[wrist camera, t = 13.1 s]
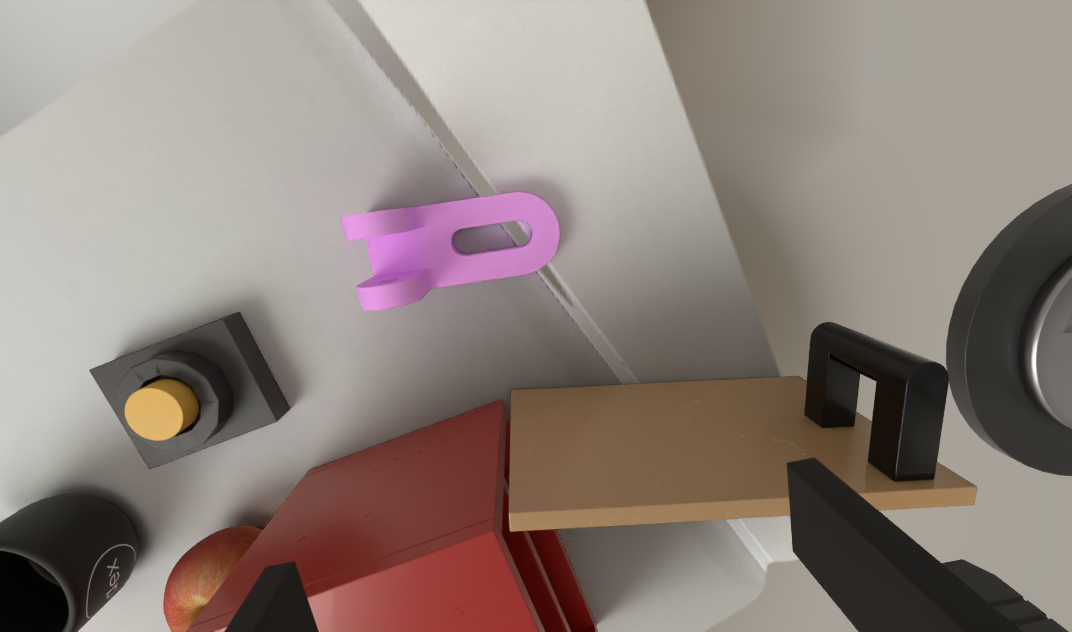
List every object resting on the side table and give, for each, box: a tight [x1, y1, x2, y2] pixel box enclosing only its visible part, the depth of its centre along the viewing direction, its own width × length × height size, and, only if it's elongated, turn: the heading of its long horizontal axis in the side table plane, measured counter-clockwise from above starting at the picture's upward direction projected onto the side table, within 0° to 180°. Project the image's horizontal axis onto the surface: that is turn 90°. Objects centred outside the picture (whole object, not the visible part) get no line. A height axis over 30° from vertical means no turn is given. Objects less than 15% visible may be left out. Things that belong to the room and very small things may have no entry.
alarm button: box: [125, 379, 199, 441], centre depth 34 cm, size 4×4×2 cm
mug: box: [0, 494, 138, 632], centre depth 37 cm, size 12×9×7 cm
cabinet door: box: [509, 322, 977, 532], centre depth 31 cm, size 7×22×16 cm, turn 92°
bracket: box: [341, 192, 560, 311], centre depth 33 cm, size 13×6×7 cm, turn 98°
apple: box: [163, 526, 263, 632], centre depth 37 cm, size 8×8×8 cm
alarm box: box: [89, 312, 290, 469], centre depth 36 cm, size 10×8×4 cm
